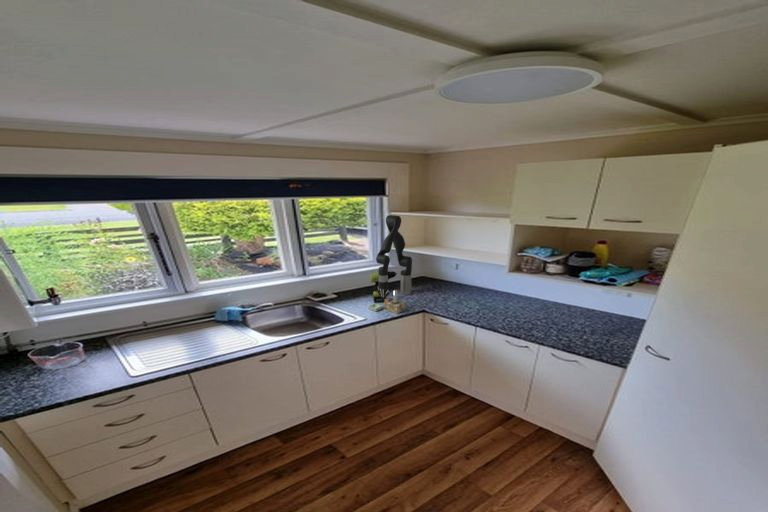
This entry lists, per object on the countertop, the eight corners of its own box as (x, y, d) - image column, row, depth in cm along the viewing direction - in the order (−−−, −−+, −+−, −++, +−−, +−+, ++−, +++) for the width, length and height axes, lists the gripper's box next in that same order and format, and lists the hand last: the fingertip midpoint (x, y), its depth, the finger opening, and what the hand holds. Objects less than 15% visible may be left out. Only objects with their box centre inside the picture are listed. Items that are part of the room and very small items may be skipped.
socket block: (394, 306, 241) (394, 299, 240) (404, 309, 235) (404, 302, 234) (386, 310, 234) (386, 303, 232) (396, 314, 228) (396, 306, 226)
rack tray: (374, 306, 243) (374, 303, 243) (382, 308, 238) (382, 305, 238) (368, 309, 237) (368, 306, 236) (376, 311, 232) (376, 308, 232)
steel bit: (395, 309, 237) (394, 289, 233) (398, 310, 235) (398, 290, 231) (392, 310, 234) (392, 290, 231) (395, 311, 232) (395, 291, 229)
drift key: (387, 306, 241) (386, 298, 240) (390, 307, 239) (390, 298, 238) (384, 307, 239) (384, 299, 237) (387, 308, 237) (387, 300, 235)
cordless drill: (397, 298, 260) (397, 269, 254) (399, 301, 253) (399, 271, 247) (370, 300, 256) (369, 271, 250) (371, 303, 249) (370, 273, 244)
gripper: (393, 280, 235) (393, 301, 239) (379, 277, 243) (380, 298, 247) (387, 283, 230) (387, 304, 234) (373, 279, 238) (374, 301, 242)
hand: (383, 301), depth 240 cm, fingers closed
